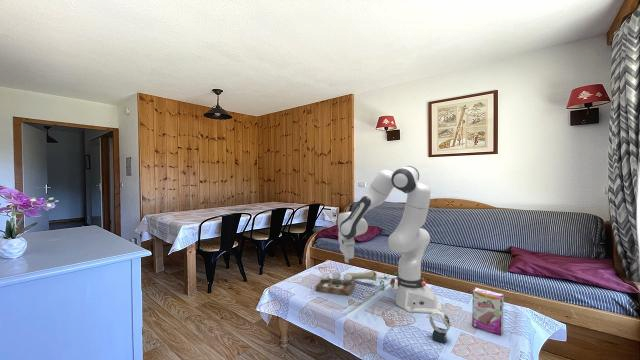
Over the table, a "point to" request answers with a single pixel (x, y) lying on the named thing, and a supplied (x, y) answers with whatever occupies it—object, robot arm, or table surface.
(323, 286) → the button board
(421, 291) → the robot arm
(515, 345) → the table surface
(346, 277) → the inner button
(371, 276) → the flower vase
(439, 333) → the watch
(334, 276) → the middle button
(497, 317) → the candy bar box
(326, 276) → the outer button
